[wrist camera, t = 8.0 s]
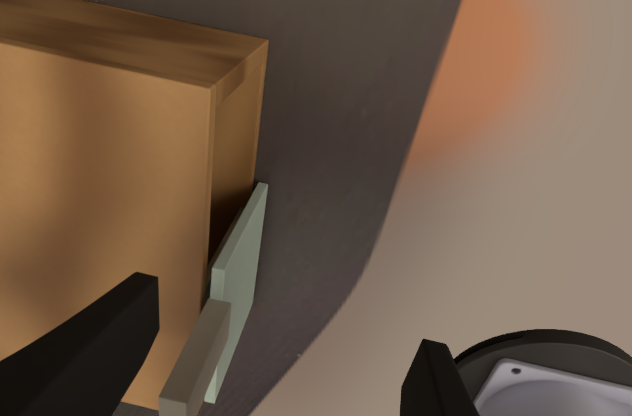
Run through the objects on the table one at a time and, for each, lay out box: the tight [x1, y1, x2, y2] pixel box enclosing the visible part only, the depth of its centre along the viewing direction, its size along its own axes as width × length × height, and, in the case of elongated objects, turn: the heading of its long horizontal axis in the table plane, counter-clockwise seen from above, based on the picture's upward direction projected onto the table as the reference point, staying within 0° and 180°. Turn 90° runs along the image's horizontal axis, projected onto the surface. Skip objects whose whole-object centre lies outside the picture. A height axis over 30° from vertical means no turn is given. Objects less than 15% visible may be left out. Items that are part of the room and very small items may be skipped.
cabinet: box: [0, 0, 269, 416], centre depth 20 cm, size 10×16×7 cm, turn 171°
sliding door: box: [158, 182, 268, 416], centre depth 19 cm, size 1×8×11 cm, turn 171°
